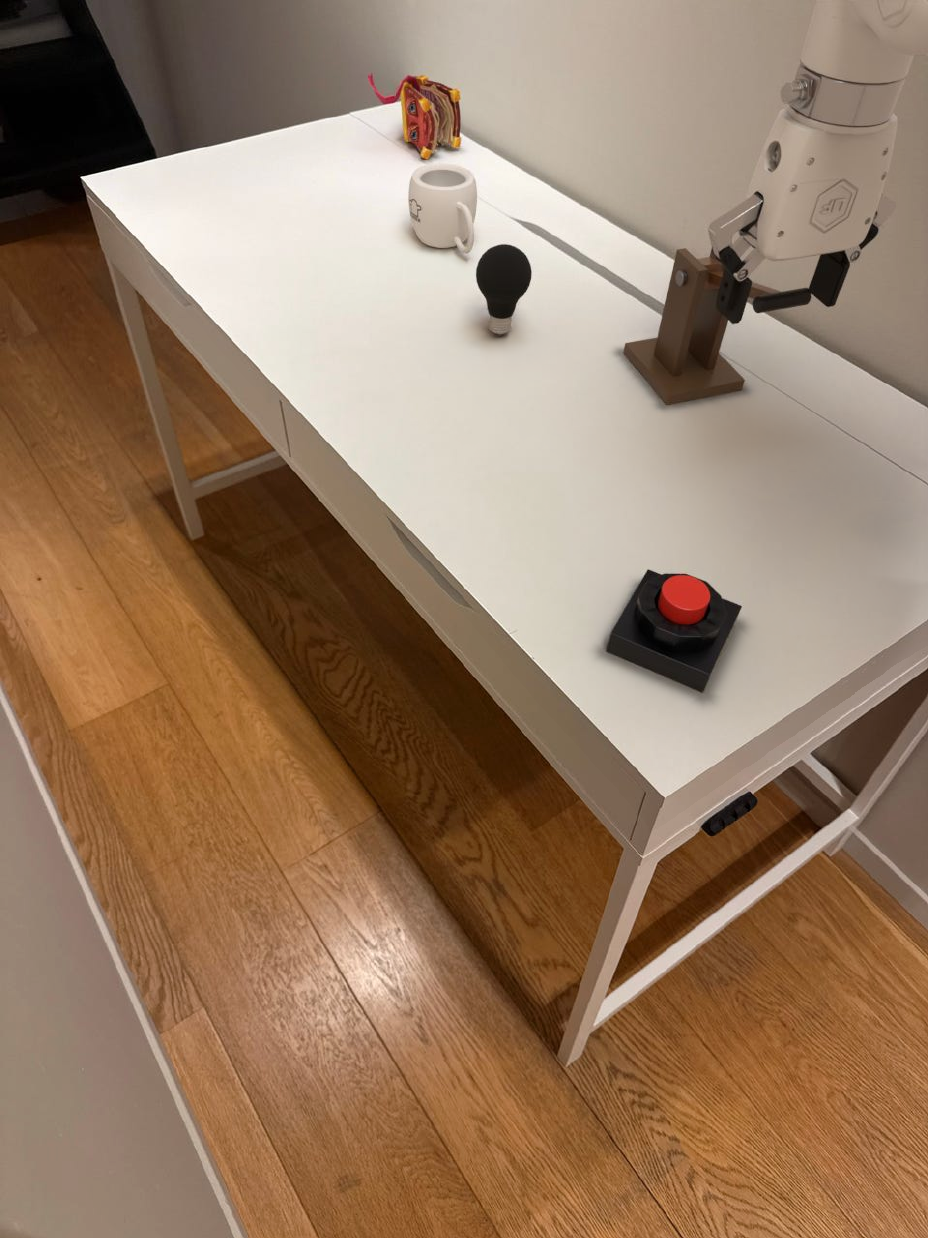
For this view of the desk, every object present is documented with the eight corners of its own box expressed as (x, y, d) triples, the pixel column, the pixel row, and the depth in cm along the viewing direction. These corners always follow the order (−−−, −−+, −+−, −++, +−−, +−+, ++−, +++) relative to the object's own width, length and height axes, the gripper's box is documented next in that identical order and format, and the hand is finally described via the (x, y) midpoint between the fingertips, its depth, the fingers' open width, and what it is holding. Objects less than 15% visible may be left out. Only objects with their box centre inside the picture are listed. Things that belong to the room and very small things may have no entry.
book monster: (465, 151, 130) (391, 169, 127) (438, 130, 135) (366, 147, 132) (463, 70, 122) (384, 87, 118) (434, 51, 127) (358, 67, 124)
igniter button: (711, 601, 68) (716, 585, 67) (695, 632, 66) (701, 616, 65) (667, 583, 69) (672, 568, 68) (650, 613, 67) (655, 598, 66)
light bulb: (464, 326, 99) (467, 239, 92) (510, 315, 101) (517, 229, 93) (487, 353, 96) (492, 265, 88) (534, 342, 98) (544, 255, 90)
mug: (397, 230, 114) (396, 167, 108) (455, 218, 116) (457, 155, 110) (440, 273, 107) (441, 207, 101) (501, 258, 110) (505, 194, 104)
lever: (809, 311, 78) (813, 283, 76) (760, 320, 77) (764, 291, 75) (718, 280, 89) (721, 254, 88) (675, 287, 88) (676, 261, 86)
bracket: (742, 389, 93) (778, 274, 83) (666, 404, 91) (695, 288, 81) (695, 339, 99) (724, 226, 89) (623, 352, 97) (645, 238, 87)
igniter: (734, 623, 72) (748, 590, 69) (703, 693, 67) (716, 660, 64) (642, 586, 74) (652, 553, 71) (605, 651, 69) (613, 618, 66)
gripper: (771, 125, 61) (711, 345, 74) (972, 101, 65) (881, 314, 78) (715, 86, 65) (668, 300, 78) (906, 66, 70) (831, 273, 83)
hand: (774, 307), depth 78 cm, fingers open, 9 cm apart
